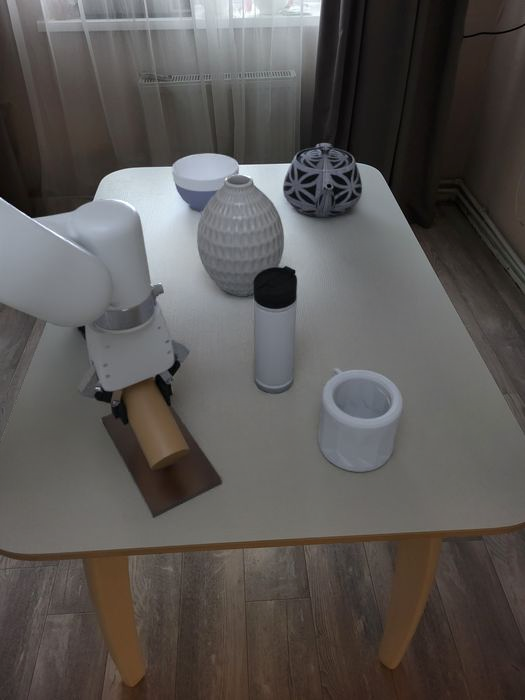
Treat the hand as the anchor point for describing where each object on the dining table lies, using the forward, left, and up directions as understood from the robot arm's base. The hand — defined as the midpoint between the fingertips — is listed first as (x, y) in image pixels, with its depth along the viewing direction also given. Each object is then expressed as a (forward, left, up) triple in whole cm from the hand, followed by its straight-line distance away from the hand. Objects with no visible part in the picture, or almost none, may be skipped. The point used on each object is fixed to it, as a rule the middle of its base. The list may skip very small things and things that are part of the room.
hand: (143, 408), depth 78 cm
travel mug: (+22, 0, -6) cm, 23 cm away
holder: (0, -3, -6) cm, 7 cm away
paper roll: (0, -2, -2) cm, 3 cm away
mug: (+25, -16, -6) cm, 30 cm away
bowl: (+42, +62, -6) cm, 75 cm away
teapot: (+65, +46, -6) cm, 80 cm away
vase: (+31, +26, -6) cm, 41 cm away
